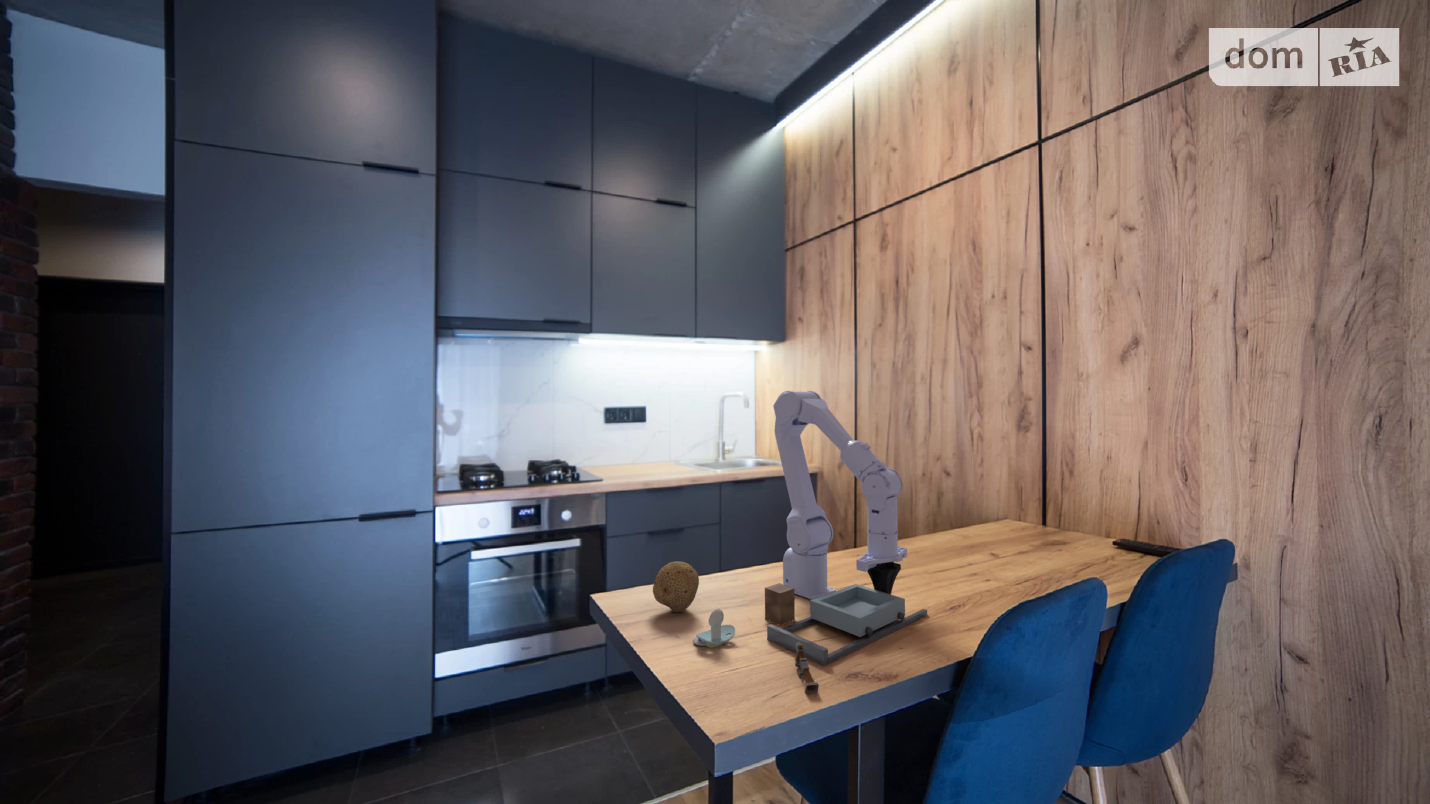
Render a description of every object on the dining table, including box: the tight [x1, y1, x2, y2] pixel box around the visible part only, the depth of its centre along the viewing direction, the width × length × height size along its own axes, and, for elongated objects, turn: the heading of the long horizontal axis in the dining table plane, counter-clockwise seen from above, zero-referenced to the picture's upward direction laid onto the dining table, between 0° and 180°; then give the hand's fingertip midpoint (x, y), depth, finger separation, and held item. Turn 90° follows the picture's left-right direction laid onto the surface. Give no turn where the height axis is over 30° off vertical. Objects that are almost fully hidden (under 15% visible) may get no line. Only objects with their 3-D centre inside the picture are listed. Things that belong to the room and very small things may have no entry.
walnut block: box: [764, 583, 796, 626], centre depth 103 cm, size 4×4×6 cm
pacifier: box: [692, 608, 736, 648], centre depth 94 cm, size 7×6×6 cm
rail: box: [766, 608, 928, 667], centre depth 99 cm, size 13×31×2 cm, turn 129°
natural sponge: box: [652, 560, 700, 613], centre depth 107 cm, size 9×9×10 cm
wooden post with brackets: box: [794, 642, 820, 694], centre depth 81 cm, size 2×8×4 cm, turn 7°
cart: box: [809, 583, 906, 638], centre depth 101 cm, size 12×14×3 cm
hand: (883, 600), depth 106 cm, fingers closed
